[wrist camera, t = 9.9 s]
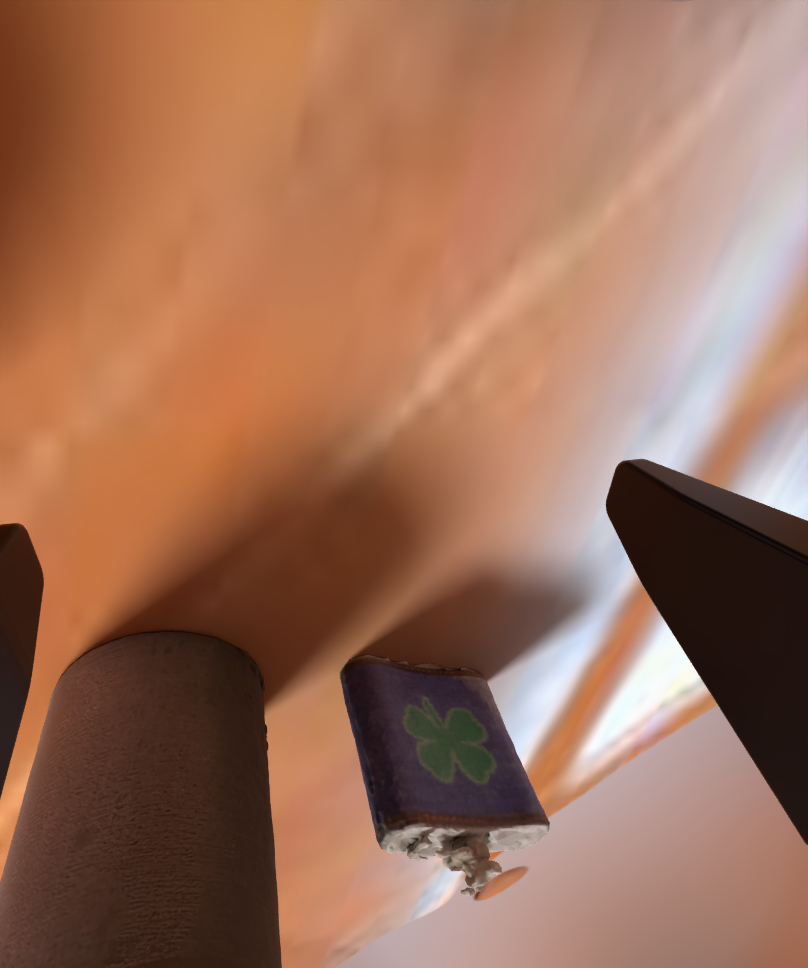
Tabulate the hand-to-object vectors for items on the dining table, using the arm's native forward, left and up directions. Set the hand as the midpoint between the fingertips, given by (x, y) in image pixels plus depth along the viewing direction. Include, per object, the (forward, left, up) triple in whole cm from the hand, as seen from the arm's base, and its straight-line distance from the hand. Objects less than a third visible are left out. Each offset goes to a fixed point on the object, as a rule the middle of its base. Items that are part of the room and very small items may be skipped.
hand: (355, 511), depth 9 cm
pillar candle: (-7, -20, -13) cm, 25 cm away
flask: (+6, -22, -13) cm, 26 cm away
